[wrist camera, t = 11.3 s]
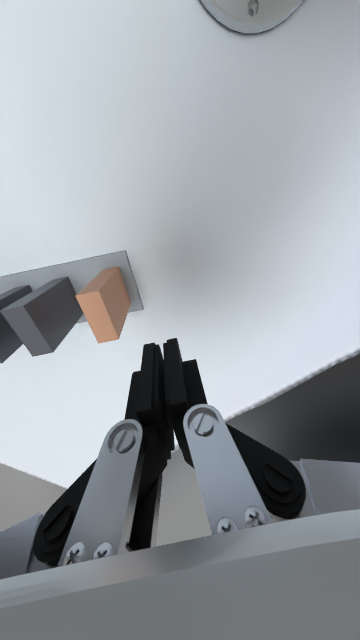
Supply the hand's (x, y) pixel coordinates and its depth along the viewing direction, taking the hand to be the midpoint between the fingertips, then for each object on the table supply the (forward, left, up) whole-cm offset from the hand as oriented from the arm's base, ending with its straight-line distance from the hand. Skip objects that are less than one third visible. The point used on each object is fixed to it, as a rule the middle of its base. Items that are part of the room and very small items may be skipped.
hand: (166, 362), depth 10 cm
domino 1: (+12, -4, -17) cm, 21 cm away
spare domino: (+6, -2, -17) cm, 18 cm away
